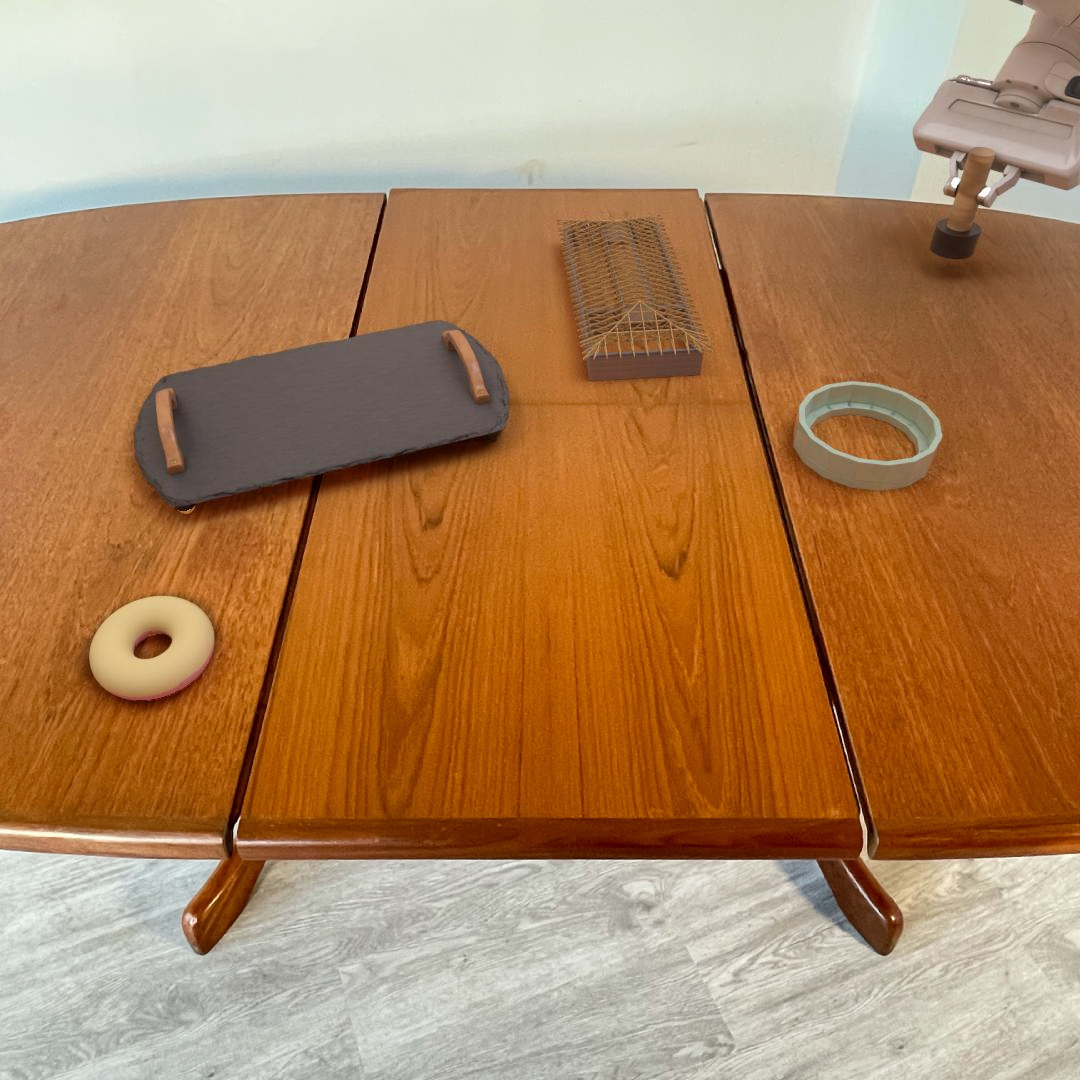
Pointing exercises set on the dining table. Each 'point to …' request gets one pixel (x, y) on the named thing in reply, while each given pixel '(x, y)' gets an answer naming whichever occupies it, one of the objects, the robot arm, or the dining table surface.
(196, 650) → the donut
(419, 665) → the dining table surface
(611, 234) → the rafter model
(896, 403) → the pale green band ring
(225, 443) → the serving tray
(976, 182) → the wooden peg with base
